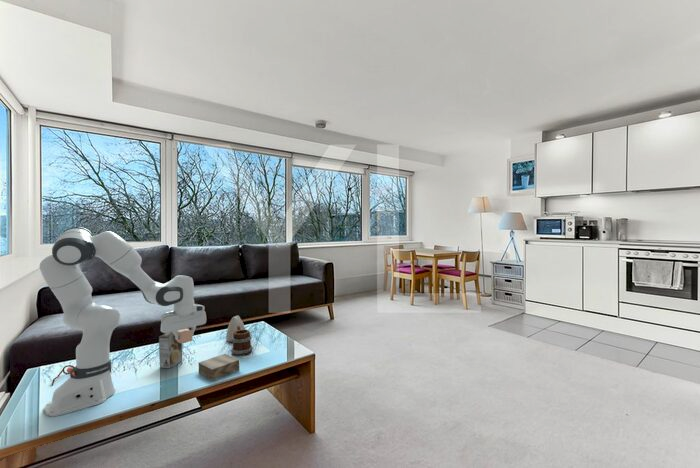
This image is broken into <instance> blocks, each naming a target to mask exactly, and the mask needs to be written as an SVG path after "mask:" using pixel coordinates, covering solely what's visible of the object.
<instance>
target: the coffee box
mask: <svg viewBox="0 0 700 468" xmlns="http://www.w3.org/2000/svg"><path fill="white" fill-rule="evenodd" d="M176 334H177V333H176ZM158 352H159V353H158V355H159V368H163V369H164V368H165V369H172V368H173V367H175V366H176V365H179V363H181V362H183V343H182V344H181V343H179V342H177V340H175V335H174V334H173V332H169V333H163V334H162V335H160V336H158Z"/></svg>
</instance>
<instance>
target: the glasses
mask: <svg viewBox="0 0 700 468" xmlns="http://www.w3.org/2000/svg"><path fill="white" fill-rule="evenodd" d="M69 367H72V368H74V367H75V366H74V365H70V364H68V365H65V366H63V367H62V369H61V370H60V372H59V373H58V374H57V376H56V377H54V378H53V379H52V381H51V385H50V386H51V387H53V386H54V383H55V380H56V379H58V378H59V377H60V375H62V373H63V374H65V375H70V373H68V372H67V371H65V369H66V368H69Z"/></svg>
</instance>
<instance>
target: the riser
mask: <svg viewBox="0 0 700 468" xmlns="http://www.w3.org/2000/svg"><path fill="white" fill-rule="evenodd" d="M239 370H240V359H238V358H236V357H234V356H232V355H230V354H227V353H223V354H220V355H217V356H214V357H211V358H207V359H205V360H201V361H200V362H198V373H199V374H200V375H201V376H204V377H206V378H207V379H209V380H211V381H214V380H217V379H219V377H220V378H222V377H224V375H225V376H226V374H227V375H229V373H230V374H232V373H234V371H235V372H237V371H239ZM231 372H232V373H231ZM221 376H222V377H221ZM216 378H217V379H216Z"/></svg>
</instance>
